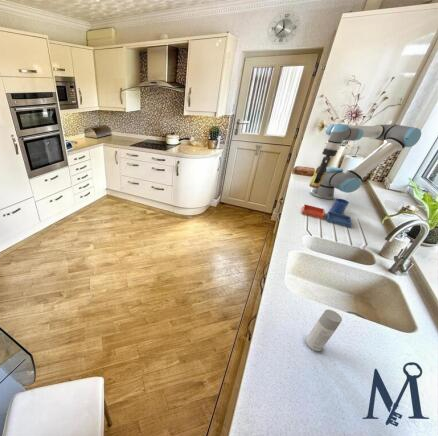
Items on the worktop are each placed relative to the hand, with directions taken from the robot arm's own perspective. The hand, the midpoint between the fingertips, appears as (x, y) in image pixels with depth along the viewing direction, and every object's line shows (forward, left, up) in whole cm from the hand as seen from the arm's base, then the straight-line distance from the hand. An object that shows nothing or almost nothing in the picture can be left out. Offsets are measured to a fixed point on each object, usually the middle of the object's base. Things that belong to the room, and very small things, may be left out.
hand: (316, 181), depth 166 cm
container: (+128, +8, -18) cm, 129 cm away
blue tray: (+18, +19, -17) cm, 31 cm away
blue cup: (+4, +18, -17) cm, 25 cm away
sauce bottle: (0, 0, -4) cm, 4 cm away
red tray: (+16, +4, -17) cm, 24 cm away
